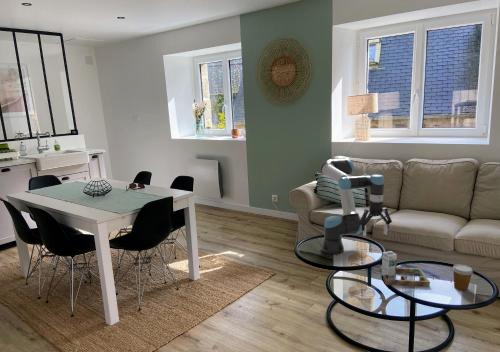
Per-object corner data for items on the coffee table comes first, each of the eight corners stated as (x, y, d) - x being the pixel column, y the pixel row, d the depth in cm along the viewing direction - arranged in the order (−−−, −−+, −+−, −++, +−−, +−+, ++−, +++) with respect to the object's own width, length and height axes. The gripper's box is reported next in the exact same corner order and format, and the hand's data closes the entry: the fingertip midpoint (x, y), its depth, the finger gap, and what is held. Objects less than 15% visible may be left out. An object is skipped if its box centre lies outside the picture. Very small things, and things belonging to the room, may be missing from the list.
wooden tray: (385, 285, 204) (386, 280, 203) (379, 271, 220) (379, 266, 219) (429, 287, 201) (429, 281, 200) (419, 273, 217) (420, 268, 216)
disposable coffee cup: (464, 283, 203) (466, 263, 201) (475, 292, 194) (477, 271, 192) (447, 284, 203) (449, 264, 201) (457, 293, 194) (459, 272, 191)
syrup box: (387, 279, 210) (388, 255, 208) (381, 274, 216) (382, 251, 213) (396, 277, 212) (397, 254, 209) (389, 273, 218) (390, 250, 215)
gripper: (359, 203, 212) (358, 238, 216) (399, 201, 216) (397, 235, 220) (353, 200, 219) (352, 234, 223) (392, 197, 223) (390, 231, 227)
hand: (374, 234), depth 222 cm, fingers open, 13 cm apart
